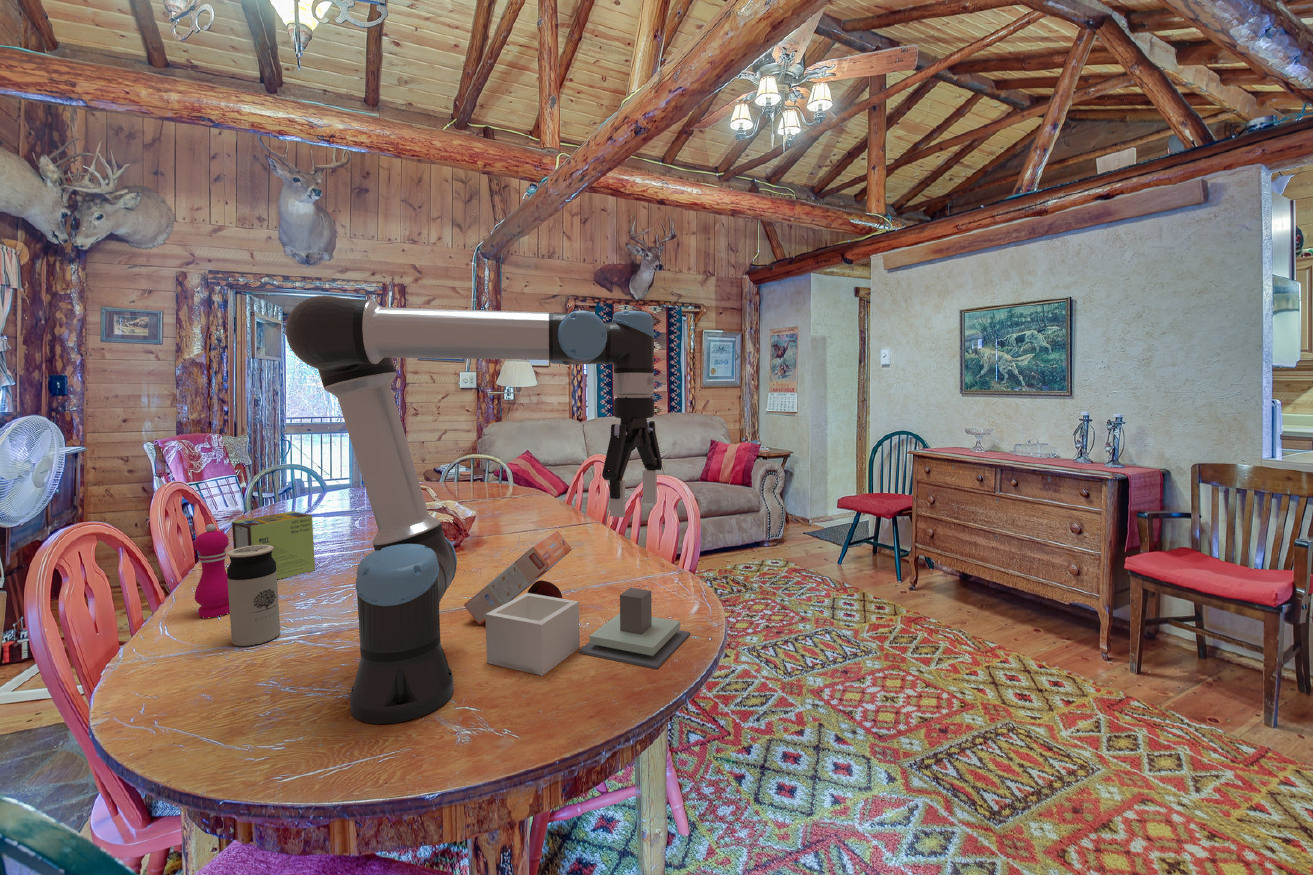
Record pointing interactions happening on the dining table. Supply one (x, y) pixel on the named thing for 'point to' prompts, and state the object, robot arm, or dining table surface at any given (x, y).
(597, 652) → the mat
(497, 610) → the storage box
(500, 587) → the cracker box
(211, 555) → the pepper mill
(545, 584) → the apple
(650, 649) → the lid
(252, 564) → the travel mug
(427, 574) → the robot arm
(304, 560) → the protein box
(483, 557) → the dining table surface
